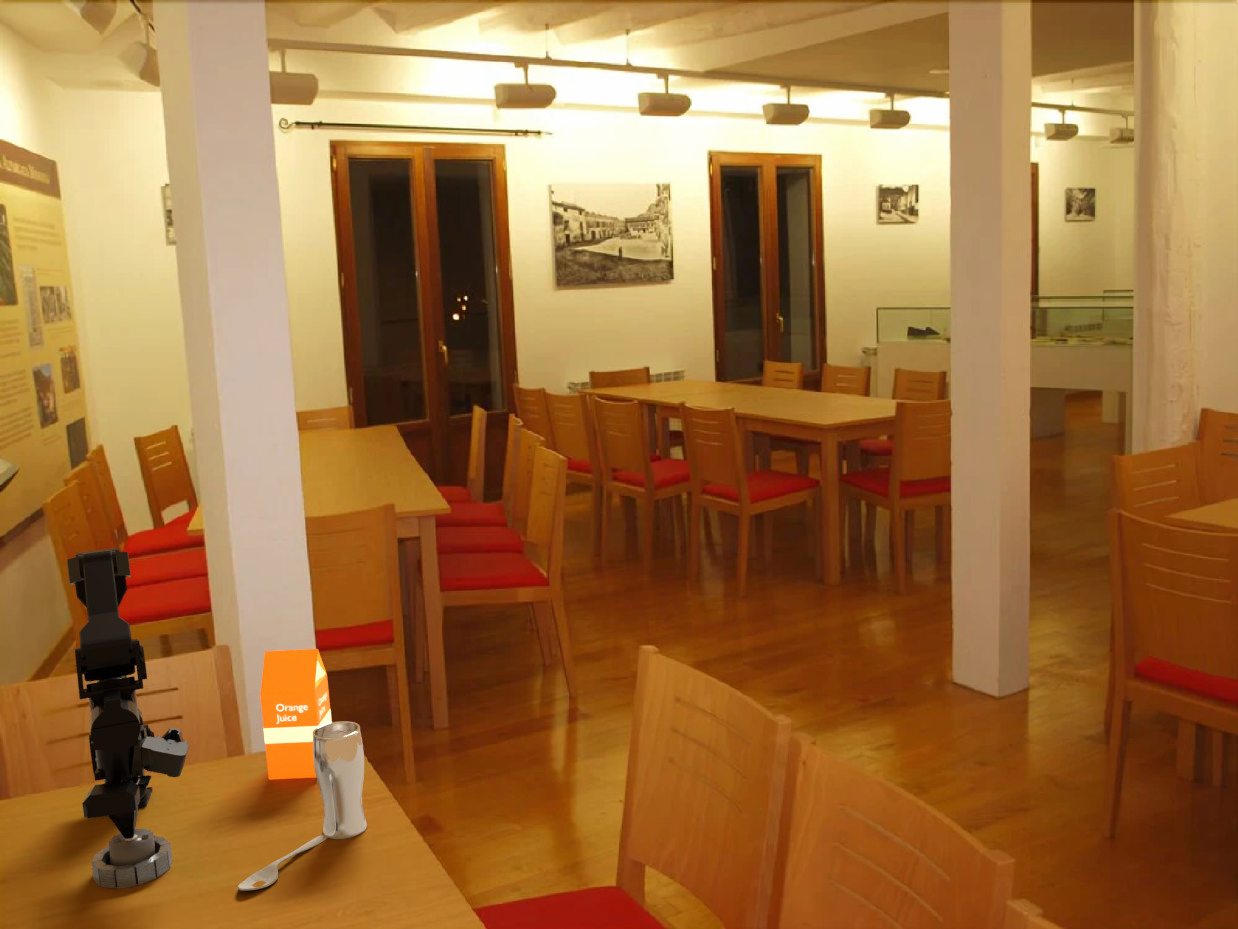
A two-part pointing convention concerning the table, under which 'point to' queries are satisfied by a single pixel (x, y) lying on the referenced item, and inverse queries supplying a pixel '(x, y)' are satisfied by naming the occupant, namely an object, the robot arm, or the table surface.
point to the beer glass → (340, 777)
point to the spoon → (275, 867)
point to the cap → (131, 848)
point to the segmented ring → (132, 867)
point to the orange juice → (293, 710)
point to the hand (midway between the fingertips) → (129, 837)
